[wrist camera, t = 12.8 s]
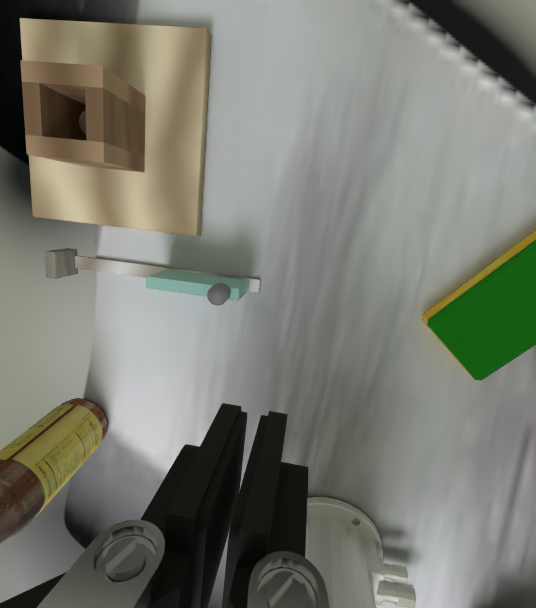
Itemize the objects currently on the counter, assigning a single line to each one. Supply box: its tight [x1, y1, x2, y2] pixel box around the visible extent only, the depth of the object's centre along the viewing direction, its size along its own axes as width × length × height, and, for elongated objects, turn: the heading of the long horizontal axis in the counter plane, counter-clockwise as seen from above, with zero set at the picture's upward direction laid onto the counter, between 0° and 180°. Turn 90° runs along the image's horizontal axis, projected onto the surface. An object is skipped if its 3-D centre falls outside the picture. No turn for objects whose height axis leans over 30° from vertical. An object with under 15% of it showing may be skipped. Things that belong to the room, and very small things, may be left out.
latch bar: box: [146, 269, 249, 305], centre depth 30 cm, size 8×2×5 cm, turn 84°
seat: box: [20, 18, 260, 293], centre depth 29 cm, size 22×21×4 cm
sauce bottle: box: [0, 398, 107, 543], centre depth 30 cm, size 7×6×20 cm
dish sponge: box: [422, 230, 536, 380], centre depth 29 cm, size 7×14×2 cm, turn 133°
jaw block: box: [21, 60, 146, 172], centre depth 27 cm, size 6×6×6 cm
